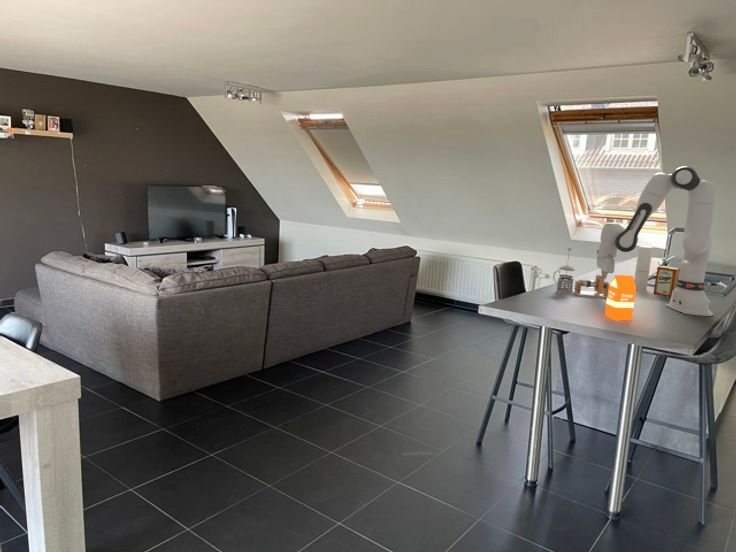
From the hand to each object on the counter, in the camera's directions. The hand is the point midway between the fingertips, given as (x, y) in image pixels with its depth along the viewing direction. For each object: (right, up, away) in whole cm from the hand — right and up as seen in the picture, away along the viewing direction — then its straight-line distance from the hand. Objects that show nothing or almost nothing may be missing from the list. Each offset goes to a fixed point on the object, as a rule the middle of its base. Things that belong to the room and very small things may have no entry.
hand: (603, 278), depth 293 cm
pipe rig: (-5, -9, +2) cm, 11 cm away
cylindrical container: (+32, -6, +26) cm, 42 cm away
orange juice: (-13, -18, -45) cm, 50 cm away
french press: (-21, -8, +3) cm, 23 cm away
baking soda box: (+40, -10, +12) cm, 43 cm away
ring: (-2, -8, +2) cm, 8 cm away
